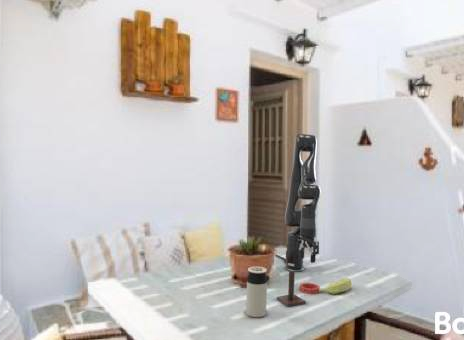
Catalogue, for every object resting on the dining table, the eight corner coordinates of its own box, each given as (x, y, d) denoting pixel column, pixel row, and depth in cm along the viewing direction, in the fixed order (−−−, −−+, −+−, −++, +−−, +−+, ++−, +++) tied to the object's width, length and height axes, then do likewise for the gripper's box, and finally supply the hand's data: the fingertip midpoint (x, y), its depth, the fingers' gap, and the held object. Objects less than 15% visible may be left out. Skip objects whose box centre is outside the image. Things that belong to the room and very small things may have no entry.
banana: (359, 276, 182) (323, 285, 175) (362, 288, 182) (326, 298, 174) (342, 274, 195) (308, 283, 187) (345, 286, 194) (311, 295, 187)
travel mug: (251, 319, 149) (252, 273, 148) (243, 311, 156) (244, 267, 156) (269, 316, 152) (270, 271, 151) (260, 308, 160) (262, 265, 159)
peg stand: (276, 299, 170) (277, 269, 169) (293, 296, 174) (294, 267, 174) (287, 307, 162) (288, 275, 161) (305, 303, 166) (306, 273, 166)
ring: (296, 288, 184) (296, 284, 184) (311, 286, 188) (311, 282, 188) (307, 294, 177) (307, 290, 177) (322, 292, 181) (323, 287, 181)
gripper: (324, 228, 180) (322, 263, 181) (305, 223, 192) (304, 255, 193) (311, 229, 176) (310, 265, 177) (293, 224, 189) (292, 257, 190)
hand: (307, 260), depth 185 cm, fingers open, 8 cm apart
